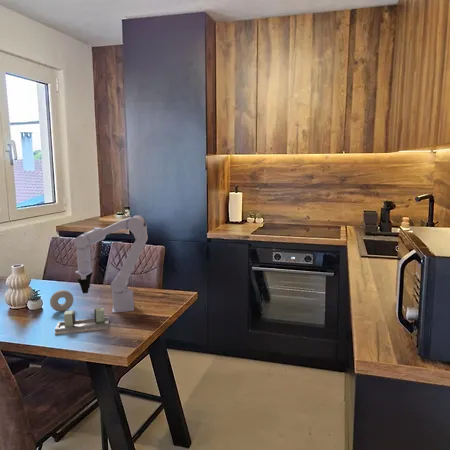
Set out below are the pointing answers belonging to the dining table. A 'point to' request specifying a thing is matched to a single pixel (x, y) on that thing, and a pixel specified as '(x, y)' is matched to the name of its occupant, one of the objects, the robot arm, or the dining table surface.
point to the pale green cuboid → (69, 318)
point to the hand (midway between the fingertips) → (86, 290)
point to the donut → (57, 296)
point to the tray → (85, 324)
